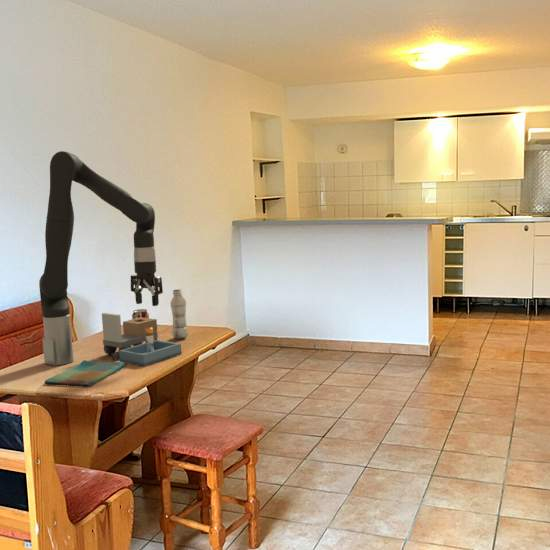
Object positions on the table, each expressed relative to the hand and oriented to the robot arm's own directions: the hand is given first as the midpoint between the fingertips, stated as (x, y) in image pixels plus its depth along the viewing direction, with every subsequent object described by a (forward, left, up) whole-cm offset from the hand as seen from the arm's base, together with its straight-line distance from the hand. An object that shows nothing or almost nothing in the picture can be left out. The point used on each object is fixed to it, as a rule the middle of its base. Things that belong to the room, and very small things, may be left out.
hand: (147, 304), depth 229 cm
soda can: (+19, +26, -20) cm, 38 cm away
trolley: (+3, +14, -20) cm, 25 cm away
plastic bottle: (+27, +12, -20) cm, 36 cm away
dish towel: (-26, +3, -21) cm, 33 cm away
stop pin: (0, 0, -19) cm, 19 cm away
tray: (0, 0, -20) cm, 20 cm away
